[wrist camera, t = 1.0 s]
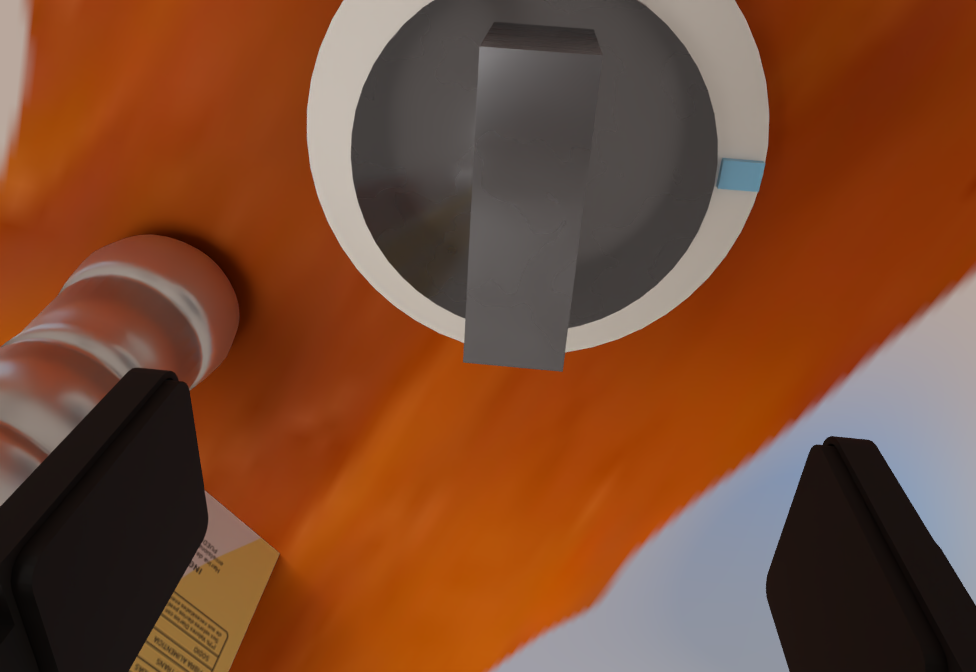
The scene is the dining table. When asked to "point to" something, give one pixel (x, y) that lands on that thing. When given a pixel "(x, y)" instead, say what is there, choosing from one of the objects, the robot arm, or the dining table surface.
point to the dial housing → (741, 161)
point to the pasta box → (211, 600)
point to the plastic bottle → (110, 341)
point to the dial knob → (533, 164)
